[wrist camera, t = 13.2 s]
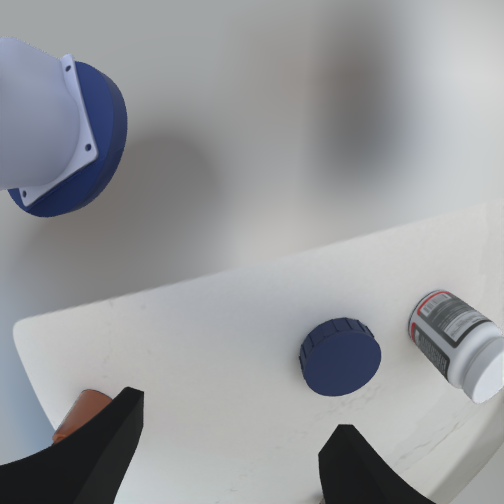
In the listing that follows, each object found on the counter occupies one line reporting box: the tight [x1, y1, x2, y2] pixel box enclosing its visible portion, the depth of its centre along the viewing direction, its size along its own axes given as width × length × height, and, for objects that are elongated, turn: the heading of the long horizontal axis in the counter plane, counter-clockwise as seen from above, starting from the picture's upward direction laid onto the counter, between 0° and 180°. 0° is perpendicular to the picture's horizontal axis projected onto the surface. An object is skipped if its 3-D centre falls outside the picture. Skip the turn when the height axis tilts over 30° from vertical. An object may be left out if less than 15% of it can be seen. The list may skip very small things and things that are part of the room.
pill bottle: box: [409, 291, 504, 404], centre depth 14 cm, size 5×5×8 cm
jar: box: [52, 390, 112, 445], centre depth 17 cm, size 5×5×8 cm
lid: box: [299, 318, 381, 396], centre depth 18 cm, size 5×5×2 cm
